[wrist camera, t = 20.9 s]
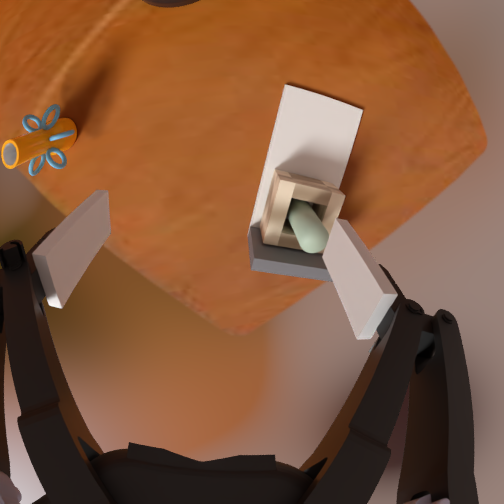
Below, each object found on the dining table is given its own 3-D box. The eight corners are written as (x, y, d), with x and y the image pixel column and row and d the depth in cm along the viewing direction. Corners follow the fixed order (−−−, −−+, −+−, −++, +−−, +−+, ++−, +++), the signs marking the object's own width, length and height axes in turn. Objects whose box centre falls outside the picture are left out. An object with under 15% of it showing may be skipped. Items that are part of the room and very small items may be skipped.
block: (274, 169, 41) (280, 179, 36) (332, 183, 43) (345, 195, 38) (259, 225, 46) (263, 243, 41) (314, 235, 48) (323, 253, 43)
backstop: (284, 84, 35) (301, 79, 26) (360, 109, 37) (395, 115, 28) (247, 234, 48) (250, 270, 39) (316, 246, 50) (333, 281, 41)
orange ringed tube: (90, 97, 33) (35, 103, 20) (95, 155, 38) (45, 182, 26) (38, 114, 33) (-18, 130, 20) (45, 167, 38) (-6, 196, 25)
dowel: (286, 191, 44) (304, 223, 33) (309, 196, 44) (333, 228, 34) (280, 213, 46) (295, 250, 35) (303, 218, 46) (323, 255, 36)
